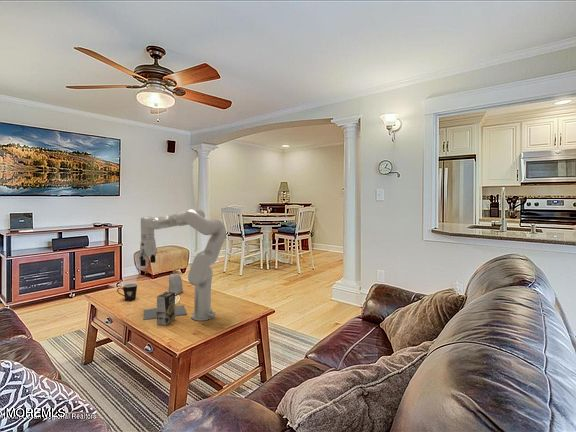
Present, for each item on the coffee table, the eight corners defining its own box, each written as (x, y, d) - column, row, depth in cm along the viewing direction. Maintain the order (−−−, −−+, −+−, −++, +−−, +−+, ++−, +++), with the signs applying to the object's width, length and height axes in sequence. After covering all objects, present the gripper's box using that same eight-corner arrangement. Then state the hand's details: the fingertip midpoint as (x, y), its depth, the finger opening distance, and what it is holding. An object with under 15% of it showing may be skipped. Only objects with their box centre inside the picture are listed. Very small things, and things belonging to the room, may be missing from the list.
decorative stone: (178, 291, 234) (178, 271, 233) (184, 292, 232) (184, 272, 230) (167, 295, 224) (167, 274, 223) (173, 296, 222) (173, 275, 221)
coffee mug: (139, 297, 217) (139, 283, 216) (132, 302, 208) (132, 287, 208) (124, 296, 218) (124, 282, 217) (116, 301, 209) (116, 286, 209)
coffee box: (166, 325, 174) (166, 297, 173) (156, 324, 176) (156, 296, 175) (175, 319, 183) (175, 292, 182) (165, 317, 185) (165, 291, 183)
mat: (186, 314, 190) (186, 314, 190) (143, 320, 181) (143, 319, 181) (184, 305, 205) (184, 305, 205) (143, 310, 195) (143, 309, 195)
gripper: (144, 239, 182) (144, 267, 183) (161, 235, 199) (161, 261, 200) (132, 238, 183) (133, 267, 184) (150, 234, 200) (151, 261, 201)
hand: (148, 264), depth 192 cm, fingers open, 9 cm apart
